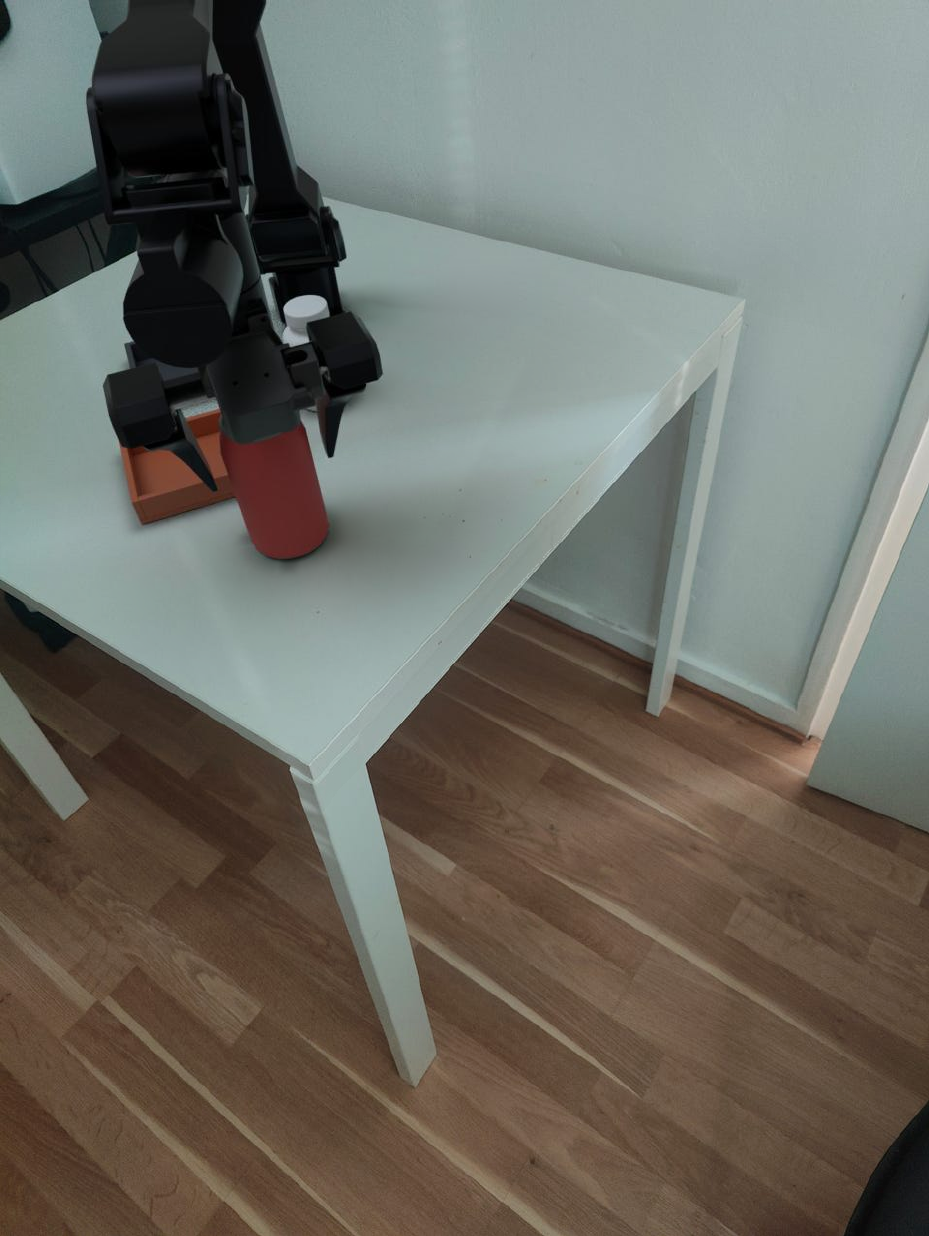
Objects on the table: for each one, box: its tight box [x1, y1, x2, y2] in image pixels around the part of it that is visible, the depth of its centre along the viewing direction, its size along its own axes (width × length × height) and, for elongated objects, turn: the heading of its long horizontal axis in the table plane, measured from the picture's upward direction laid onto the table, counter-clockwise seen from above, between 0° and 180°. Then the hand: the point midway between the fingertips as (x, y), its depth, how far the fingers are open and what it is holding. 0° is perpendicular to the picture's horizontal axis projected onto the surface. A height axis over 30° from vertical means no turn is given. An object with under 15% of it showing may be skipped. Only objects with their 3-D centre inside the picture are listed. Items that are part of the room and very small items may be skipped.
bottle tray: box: [118, 408, 236, 525], centre depth 78 cm, size 11×10×2 cm
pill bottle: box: [282, 295, 330, 412], centre depth 82 cm, size 5×5×10 cm
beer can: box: [219, 414, 330, 560], centre depth 68 cm, size 7×7×12 cm
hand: (272, 471), depth 67 cm, fingers open, 9 cm apart
